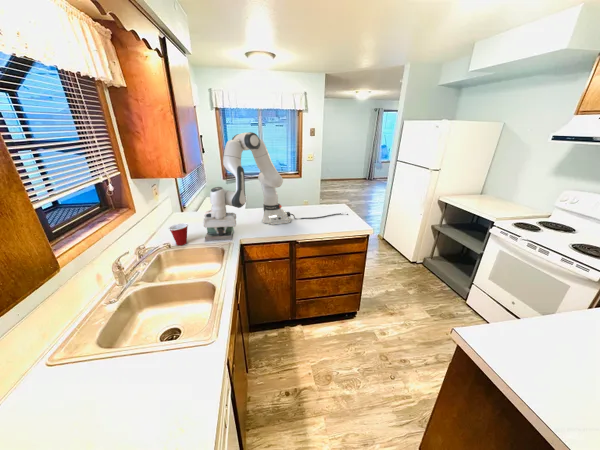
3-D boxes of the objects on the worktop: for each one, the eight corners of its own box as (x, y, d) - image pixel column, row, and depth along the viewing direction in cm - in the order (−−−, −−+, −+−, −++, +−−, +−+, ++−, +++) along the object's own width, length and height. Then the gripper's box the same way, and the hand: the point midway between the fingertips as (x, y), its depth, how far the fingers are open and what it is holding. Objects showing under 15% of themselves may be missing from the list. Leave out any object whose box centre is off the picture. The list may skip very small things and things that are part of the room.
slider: (223, 232, 158) (223, 227, 157) (222, 234, 155) (222, 228, 154) (219, 233, 158) (219, 227, 156) (219, 234, 155) (218, 229, 153)
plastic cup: (177, 240, 154) (174, 222, 150) (193, 240, 154) (191, 223, 149) (168, 247, 144) (164, 228, 140) (185, 247, 144) (182, 229, 139)
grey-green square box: (233, 230, 170) (232, 214, 166) (231, 239, 155) (229, 222, 151) (210, 231, 168) (208, 215, 163) (205, 241, 153) (203, 223, 149)
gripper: (236, 211, 156) (237, 230, 161) (203, 211, 153) (206, 231, 158) (235, 213, 150) (237, 234, 155) (201, 214, 147) (204, 235, 152)
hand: (221, 233), depth 156 cm, fingers closed on slider, 2 cm apart
